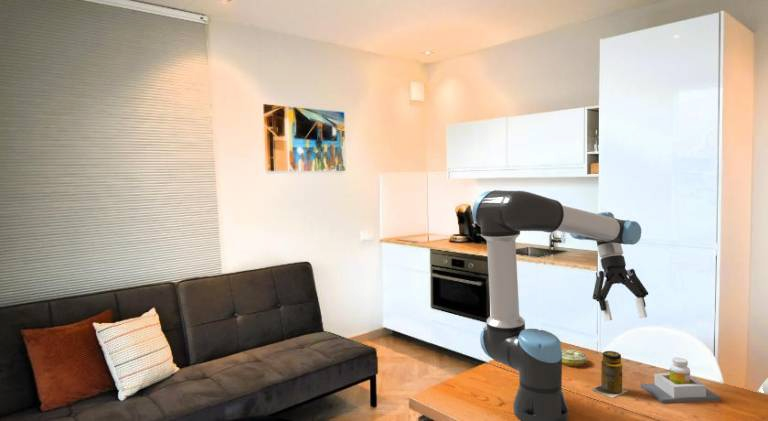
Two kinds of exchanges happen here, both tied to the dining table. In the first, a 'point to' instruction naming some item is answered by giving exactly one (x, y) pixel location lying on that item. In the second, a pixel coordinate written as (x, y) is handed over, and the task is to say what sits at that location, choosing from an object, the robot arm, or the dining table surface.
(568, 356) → the decorated donut
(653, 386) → the socket plate
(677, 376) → the supplement bottle
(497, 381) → the dining table surface
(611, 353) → the condiment
